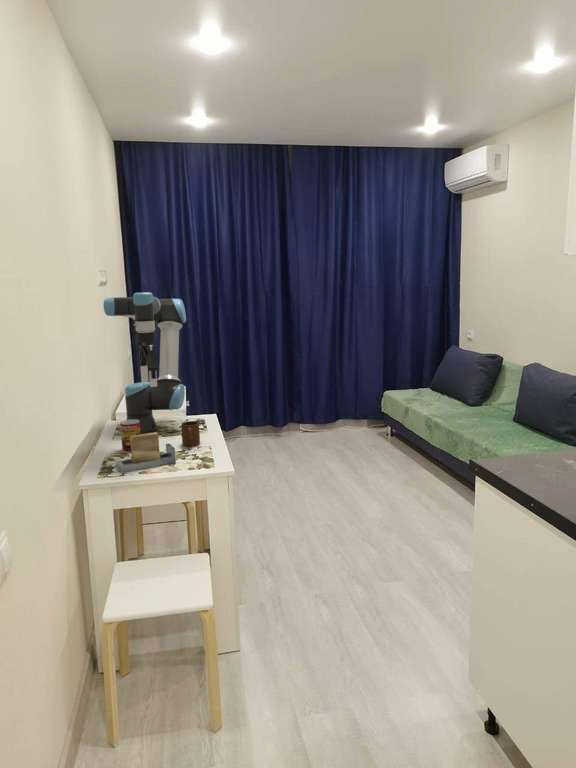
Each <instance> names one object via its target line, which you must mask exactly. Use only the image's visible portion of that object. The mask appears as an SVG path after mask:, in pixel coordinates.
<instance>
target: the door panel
mask: <svg viewBox="0 0 576 768" xmlns="http://www.w3.org/2000/svg"><path fill="white" fill-rule="evenodd" d="M130 440H131V452H130V453H131V459H132V463H136V462H142V461H148V460H153V459H159V458H160V454H161V453H160V440H159V433H158V432H155V433H148V434H141V435H135V436H130Z"/></svg>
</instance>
